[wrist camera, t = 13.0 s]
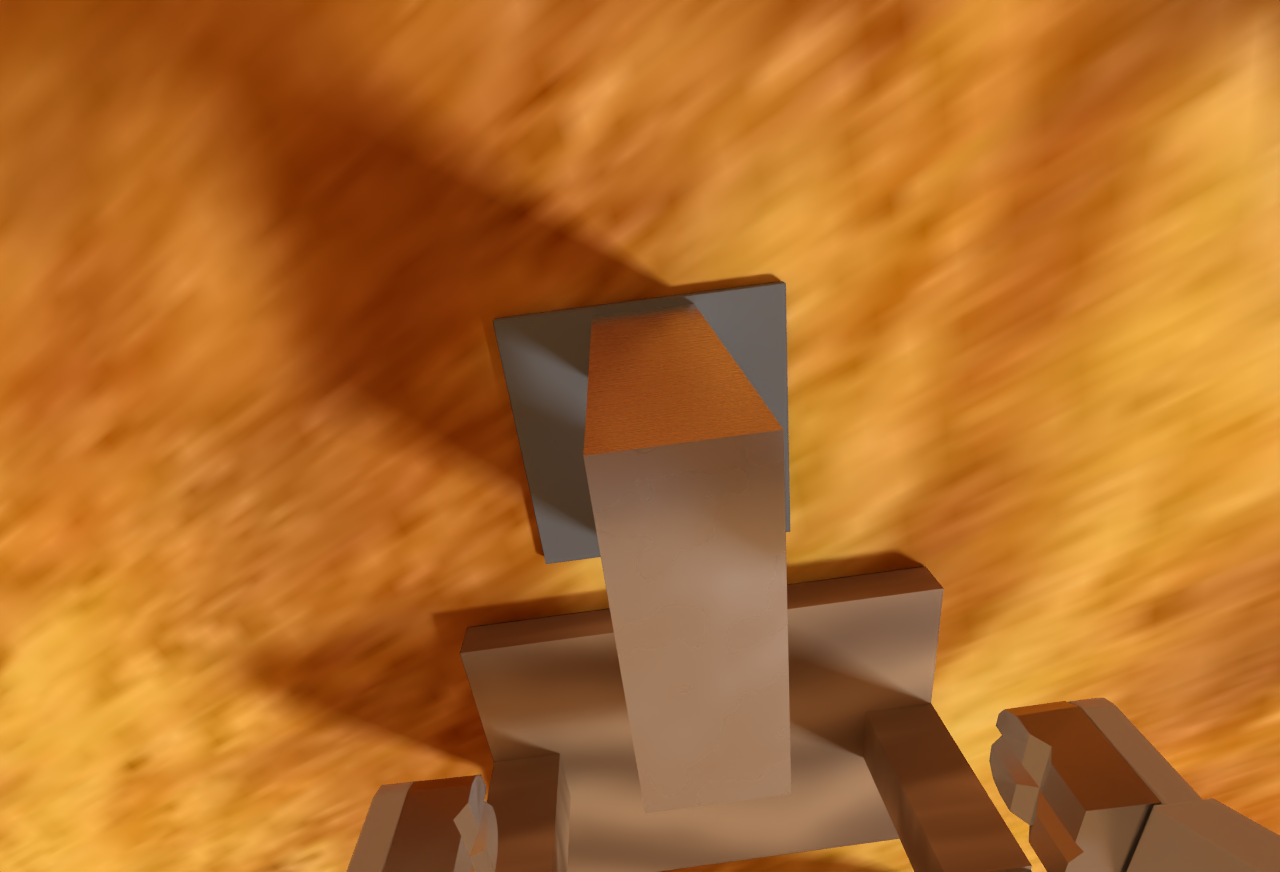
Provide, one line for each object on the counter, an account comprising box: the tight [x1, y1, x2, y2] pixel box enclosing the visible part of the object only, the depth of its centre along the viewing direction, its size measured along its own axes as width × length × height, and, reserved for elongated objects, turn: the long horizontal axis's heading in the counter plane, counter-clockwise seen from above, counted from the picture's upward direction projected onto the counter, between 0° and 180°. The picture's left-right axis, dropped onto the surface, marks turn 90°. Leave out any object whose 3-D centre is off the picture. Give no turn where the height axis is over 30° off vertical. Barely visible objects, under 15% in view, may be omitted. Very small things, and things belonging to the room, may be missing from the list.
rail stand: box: [460, 567, 1032, 872], centre depth 24 cm, size 16×20×11 cm
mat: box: [493, 281, 790, 564], centre depth 23 cm, size 10×10×1 cm
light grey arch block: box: [583, 303, 791, 814], centre depth 17 cm, size 10×4×11 cm, turn 7°
